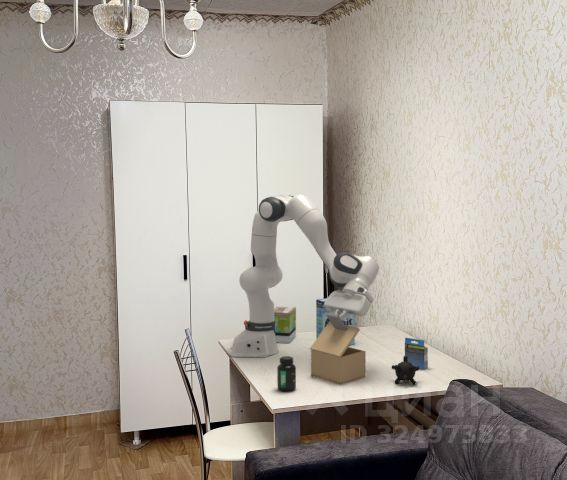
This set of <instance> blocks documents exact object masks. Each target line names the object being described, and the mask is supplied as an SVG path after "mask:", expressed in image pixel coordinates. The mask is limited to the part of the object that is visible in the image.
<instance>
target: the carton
mask: <svg viewBox="0 0 567 480" xmlns="http://www.w3.org/2000/svg"><path fill="white" fill-rule="evenodd" d="M366 352H367V351H366V350H363V349H358V348H355V347H350V346H348V348H347V349H346V351H345V352H344V354H343V355H342V356H341V357H337V356H333V355H329V354H325V353H321V352H318V351H314V350H311V349H310V369H311V370H310V372H311V373H310V375H311V376H310V377H314V378H316V379H317V378H318V379H320V380H323V381H328V382H331V383H334V384H337V385H341V386H342V385H345V384H348V383H351V382H354V381H357V380H361V379H364V378H366V373H367V372H366V367H367V366H366V360H367V359H366V354H367V353H366Z"/></svg>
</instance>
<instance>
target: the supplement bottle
mask: <svg viewBox="0 0 567 480" xmlns="http://www.w3.org/2000/svg"><path fill="white" fill-rule="evenodd" d="M276 371H277V377H276V379H277V390H278V391H279V392H283V393H289V392H294V391H296V389H297V369H296V365H295V364H294V357H293V356H290V355H284V356H281V357H279V364H278V365H277V367H276Z"/></svg>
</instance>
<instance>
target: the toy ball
mask: <svg viewBox="0 0 567 480" xmlns="http://www.w3.org/2000/svg"><path fill="white" fill-rule="evenodd" d="M402 358H403V361H400V362H398V364H393V365H391V370H393V371H394V373H395V377H396V379H394V383H395V385H398V384H399V383H400V382H401V381H402V382H410V383H411V385H416V383H417V381H416V380H415V376H416V372H418V371H420V368H419V367H418V366H417V367H416V366H413V364H411V363H410V362H408V356H405V355H403V357H402Z"/></svg>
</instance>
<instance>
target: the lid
mask: <svg viewBox="0 0 567 480" xmlns="http://www.w3.org/2000/svg"><path fill="white" fill-rule="evenodd" d="M326 316H327V317H328V319H329V320H330V322H329V323H328V324H327V326H326V327H325V328H324V330H323V331H322V332H321V334H320V335H319V336H318V338H317V339H316V338H315V341H314V342H313V343H312V345H310V347H309V349H310V351H311V350H314V351H318V352H321V353H325V354H329V355H333V356H337V357H341V356H342V355H343V354H344V352H345V351H346V349H347V348H348V347H350V346H351V345H350V344H351V342H352V341H353V339H354V338H355V339H356V337H357V335H358V334H359V332H360V331H361V329H360V328H359V327H356V326H355V327H351V326H347V325H345V324H344V323H343V321H342V320H341V318H340V317H339V315H335V314H330V313H327V314H326Z"/></svg>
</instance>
